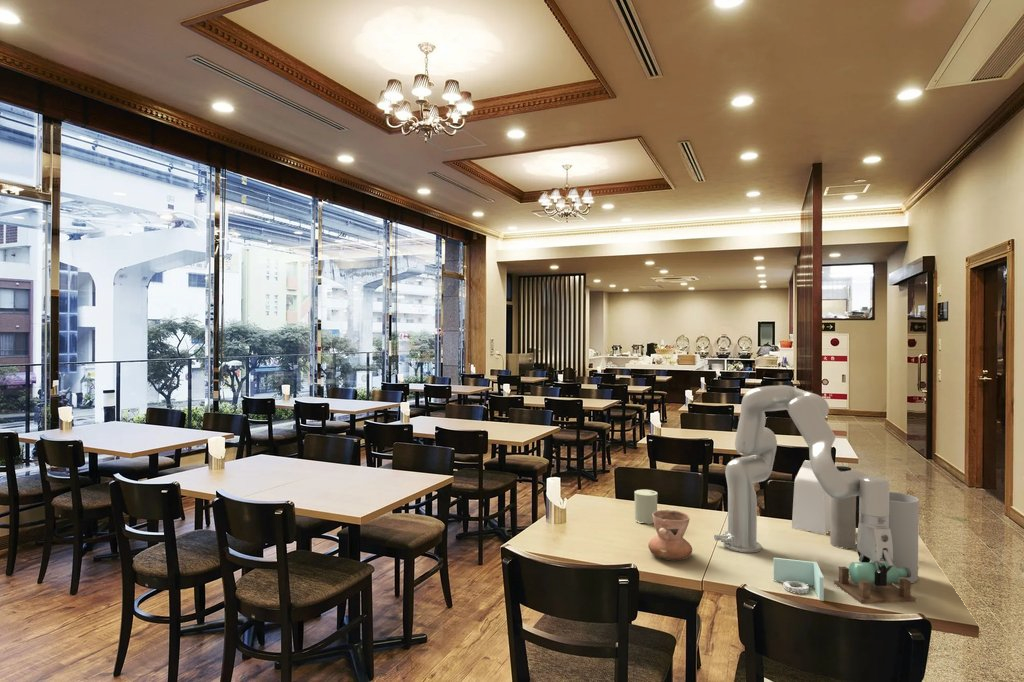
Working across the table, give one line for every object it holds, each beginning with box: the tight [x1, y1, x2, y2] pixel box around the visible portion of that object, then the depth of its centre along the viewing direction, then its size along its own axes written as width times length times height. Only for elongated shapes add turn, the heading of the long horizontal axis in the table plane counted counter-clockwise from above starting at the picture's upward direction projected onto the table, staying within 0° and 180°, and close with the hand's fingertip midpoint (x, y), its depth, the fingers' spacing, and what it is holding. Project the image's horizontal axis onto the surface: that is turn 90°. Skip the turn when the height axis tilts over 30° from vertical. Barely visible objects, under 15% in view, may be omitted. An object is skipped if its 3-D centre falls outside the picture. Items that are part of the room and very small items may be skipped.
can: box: [633, 489, 658, 523], centre depth 244 cm, size 9×9×12 cm
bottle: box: [848, 561, 911, 585], centre depth 177 cm, size 16×6×6 cm, turn 93°
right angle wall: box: [772, 557, 825, 602], centre depth 178 cm, size 12×12×8 cm
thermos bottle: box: [829, 465, 857, 549], centre depth 216 cm, size 8×8×28 cm
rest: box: [833, 566, 917, 604], centre depth 177 cm, size 16×13×6 cm
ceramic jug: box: [647, 509, 693, 561], centre depth 206 cm, size 18×14×14 cm
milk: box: [791, 459, 831, 535], centre depth 235 cm, size 12×12×26 cm
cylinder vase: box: [870, 491, 920, 584], centre depth 188 cm, size 12×12×25 cm
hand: (873, 580), depth 177 cm, fingers closed on bottle, 5 cm apart
